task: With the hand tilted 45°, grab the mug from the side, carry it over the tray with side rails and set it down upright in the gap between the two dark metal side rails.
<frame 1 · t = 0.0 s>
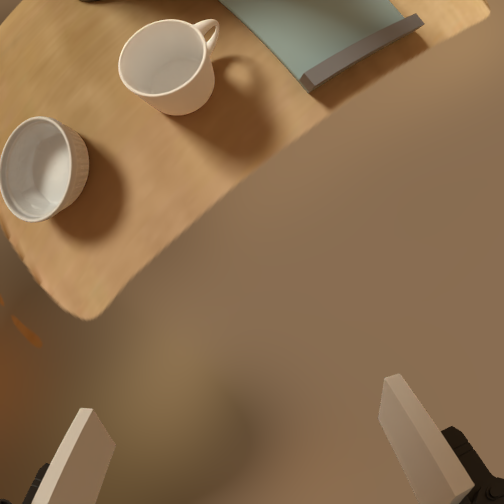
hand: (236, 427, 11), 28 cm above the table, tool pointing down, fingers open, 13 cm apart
tray with side rails: (315, 0, 29), on the table
mug: (190, 75, 32), on the table
ramekin: (60, 168, 34), on the table
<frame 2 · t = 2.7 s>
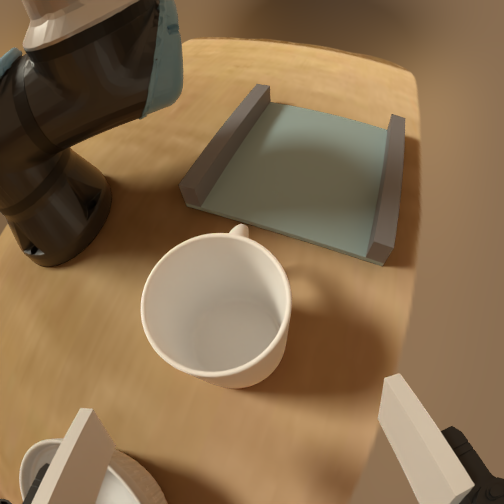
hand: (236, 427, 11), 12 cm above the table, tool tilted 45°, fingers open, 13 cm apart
tray with side rails: (308, 162, 35), on the table
mug: (240, 323, 26), on the table
ramekin: (117, 498, 18), on the table
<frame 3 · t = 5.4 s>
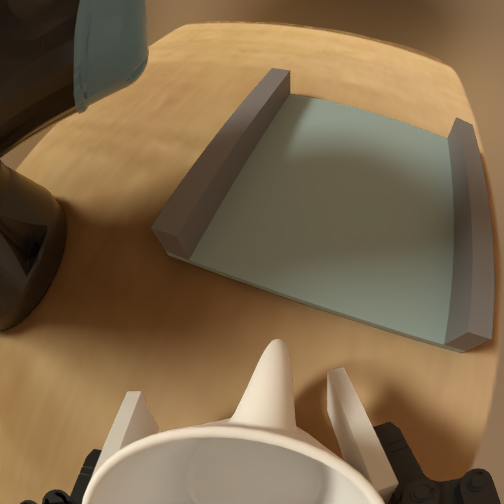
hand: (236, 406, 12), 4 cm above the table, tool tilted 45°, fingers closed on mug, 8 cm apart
tray with side rails: (354, 184, 23), on the table
mug: (260, 455, 14), on the table, touching gripper
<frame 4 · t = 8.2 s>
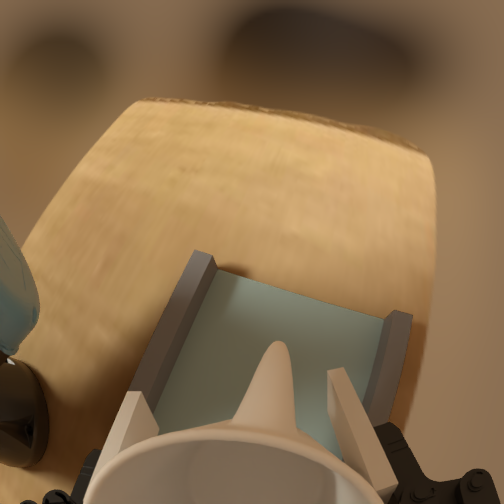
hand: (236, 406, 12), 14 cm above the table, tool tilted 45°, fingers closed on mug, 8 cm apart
tray with side rails: (262, 400, 25), on the table
mug: (260, 456, 14), point 11 cm above the table, touching gripper
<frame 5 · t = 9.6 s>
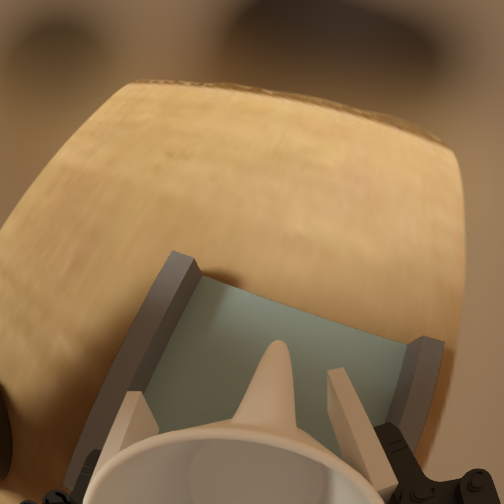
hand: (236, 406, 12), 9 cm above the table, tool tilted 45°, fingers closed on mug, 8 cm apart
tray with side rails: (251, 441, 19), on the table
mug: (260, 456, 14), point 5 cm above the table, touching gripper
when the fingers open (6 cm above the table, at t = 10.7 s): mug drops 1 cm, resting on tray with side rails.
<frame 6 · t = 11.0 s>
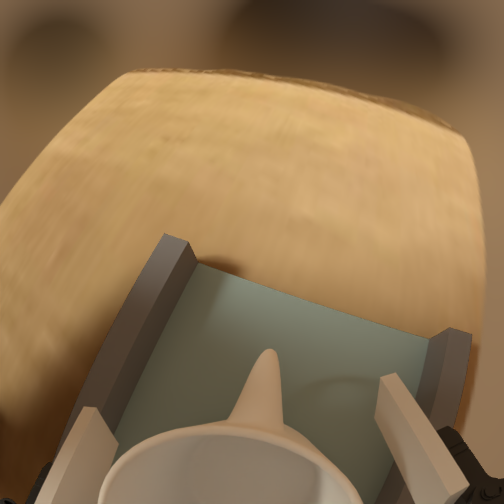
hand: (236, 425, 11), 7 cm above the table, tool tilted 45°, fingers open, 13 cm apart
tray with side rails: (253, 453, 16), on the table
mug: (257, 453, 16), resting on tray with side rails
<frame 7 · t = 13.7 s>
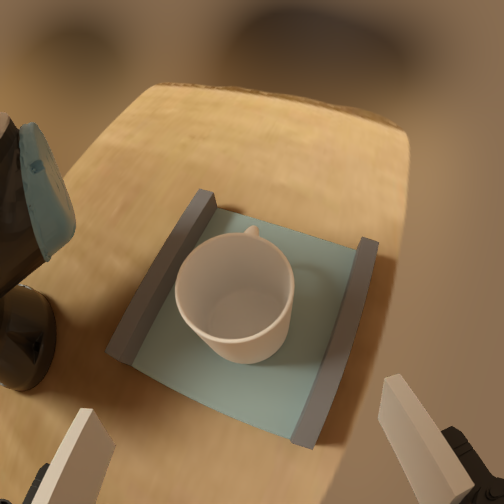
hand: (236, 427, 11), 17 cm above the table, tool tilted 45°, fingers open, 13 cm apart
tray with side rails: (248, 311, 32), on the table
mug: (250, 310, 31), resting on tray with side rails
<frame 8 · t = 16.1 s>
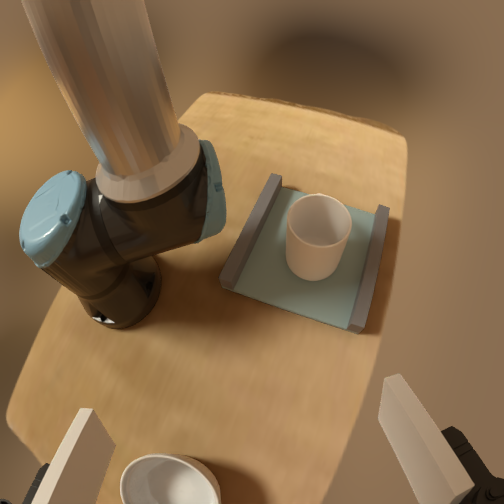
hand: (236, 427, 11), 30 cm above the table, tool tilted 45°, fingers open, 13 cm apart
tray with side rails: (311, 251, 49), on the table
mug: (312, 249, 48), resting on tray with side rails
ramekin: (182, 488, 32), on the table
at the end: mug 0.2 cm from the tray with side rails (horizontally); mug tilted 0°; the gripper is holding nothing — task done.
